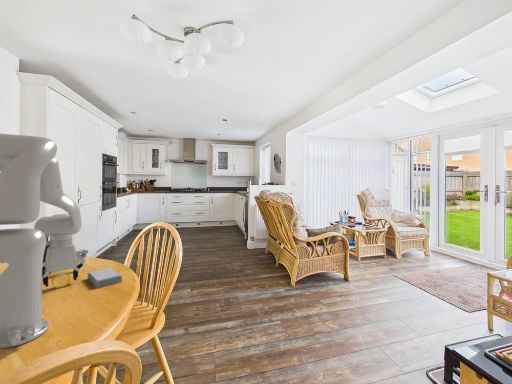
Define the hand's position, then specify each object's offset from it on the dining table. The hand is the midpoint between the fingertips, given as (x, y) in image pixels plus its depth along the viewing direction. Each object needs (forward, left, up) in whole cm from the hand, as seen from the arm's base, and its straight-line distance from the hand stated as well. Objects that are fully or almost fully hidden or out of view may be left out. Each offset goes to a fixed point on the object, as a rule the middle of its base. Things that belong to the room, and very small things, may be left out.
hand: (61, 282), depth 102 cm
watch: (0, 0, -2) cm, 2 cm away
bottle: (+22, +4, -2) cm, 22 cm away
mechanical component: (+16, -8, -2) cm, 18 cm away
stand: (-5, -15, -2) cm, 16 cm away
